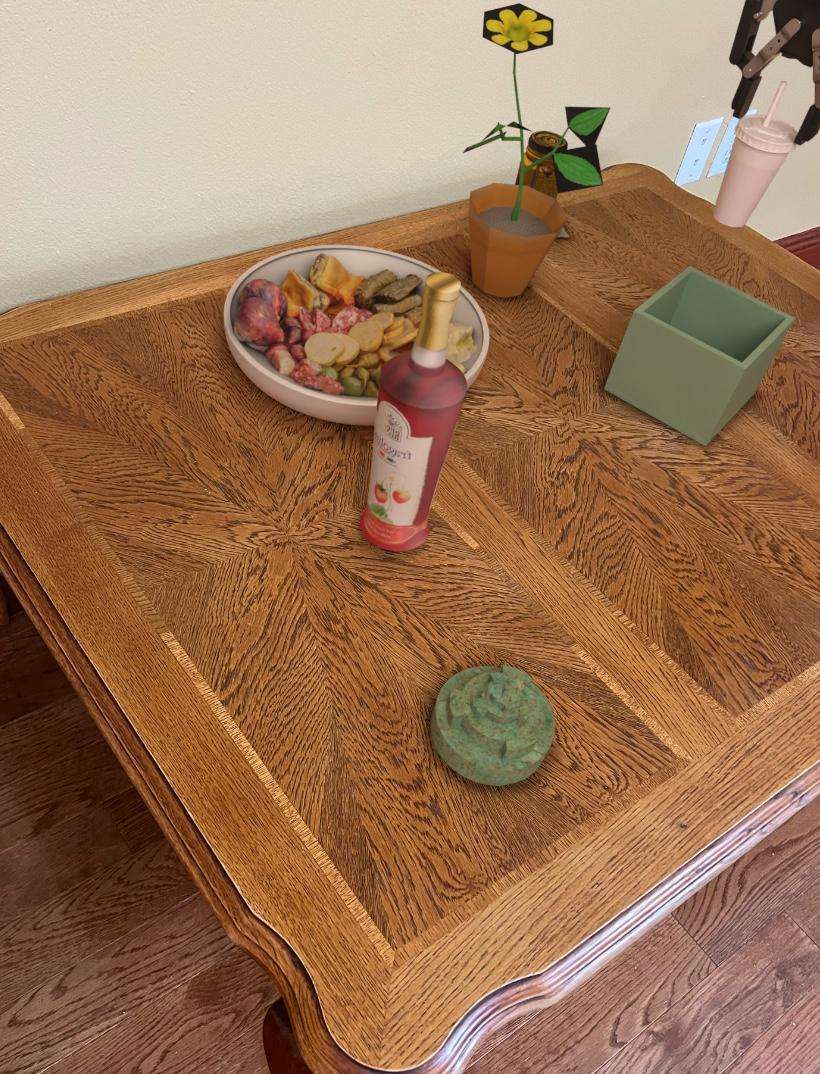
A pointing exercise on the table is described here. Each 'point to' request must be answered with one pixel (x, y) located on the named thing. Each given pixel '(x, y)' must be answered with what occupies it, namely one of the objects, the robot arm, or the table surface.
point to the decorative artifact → (492, 725)
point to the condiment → (542, 165)
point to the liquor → (414, 425)
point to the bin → (696, 353)
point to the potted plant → (516, 210)
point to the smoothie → (753, 163)
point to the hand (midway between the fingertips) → (769, 128)
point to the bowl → (338, 327)
